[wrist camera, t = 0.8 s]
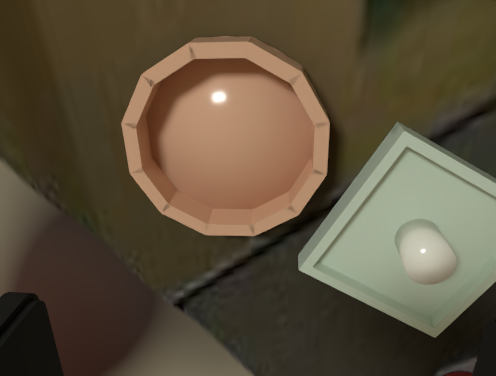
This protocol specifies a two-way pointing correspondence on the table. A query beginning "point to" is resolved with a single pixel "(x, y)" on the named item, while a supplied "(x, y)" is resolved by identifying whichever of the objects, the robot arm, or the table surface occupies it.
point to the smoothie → (459, 374)
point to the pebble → (424, 252)
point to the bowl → (227, 136)
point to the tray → (398, 213)
